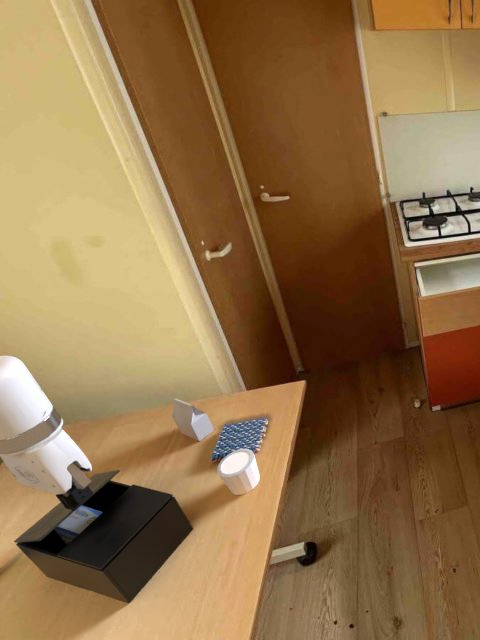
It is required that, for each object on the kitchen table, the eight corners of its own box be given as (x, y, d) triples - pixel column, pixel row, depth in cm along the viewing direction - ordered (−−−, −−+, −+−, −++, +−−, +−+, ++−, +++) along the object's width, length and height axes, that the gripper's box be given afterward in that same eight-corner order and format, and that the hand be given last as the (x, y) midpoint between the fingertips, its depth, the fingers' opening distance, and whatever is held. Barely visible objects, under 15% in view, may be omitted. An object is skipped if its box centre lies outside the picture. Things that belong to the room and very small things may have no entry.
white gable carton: (199, 441, 102) (185, 412, 97) (180, 433, 104) (165, 404, 100) (214, 429, 105) (200, 400, 100) (195, 421, 107) (181, 393, 103)
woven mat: (270, 419, 108) (268, 414, 107) (260, 455, 99) (257, 449, 98) (225, 428, 106) (222, 422, 105) (210, 465, 96) (207, 459, 95)
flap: (15, 542, 71) (13, 541, 71) (95, 475, 82) (93, 474, 82) (40, 541, 68) (38, 539, 68) (120, 470, 79) (119, 469, 79)
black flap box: (46, 576, 77) (13, 541, 71) (118, 508, 88) (94, 473, 82) (129, 603, 73) (100, 568, 68) (193, 528, 84) (172, 494, 79)
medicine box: (72, 553, 80) (49, 526, 76) (98, 529, 83) (77, 502, 79) (105, 564, 78) (83, 537, 74) (129, 539, 82) (109, 512, 78)
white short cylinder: (269, 477, 94) (260, 457, 91) (238, 503, 89) (228, 482, 85) (251, 463, 97) (242, 443, 94) (220, 488, 92) (210, 467, 88)
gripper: (-43, 440, 63) (22, 513, 72) (32, 459, 60) (91, 533, 69) (18, 402, 70) (71, 473, 78) (89, 418, 67) (136, 491, 75)
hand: (80, 501), depth 73 cm, fingers closed
